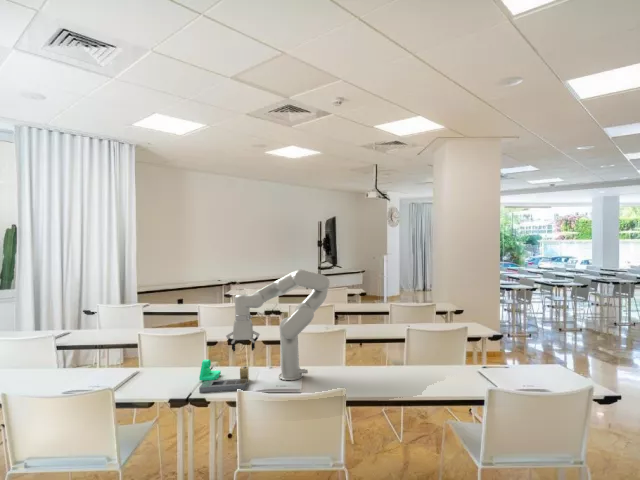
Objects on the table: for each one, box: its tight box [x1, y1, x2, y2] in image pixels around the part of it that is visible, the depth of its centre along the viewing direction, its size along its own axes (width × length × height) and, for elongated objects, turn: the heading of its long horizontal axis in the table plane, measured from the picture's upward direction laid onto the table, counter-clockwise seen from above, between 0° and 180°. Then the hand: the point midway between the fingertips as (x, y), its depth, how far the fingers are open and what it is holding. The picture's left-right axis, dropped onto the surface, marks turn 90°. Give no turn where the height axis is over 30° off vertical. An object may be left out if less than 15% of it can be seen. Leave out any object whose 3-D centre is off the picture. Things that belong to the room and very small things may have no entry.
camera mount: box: [199, 359, 222, 381], centre depth 210 cm, size 12×8×10 cm, turn 175°
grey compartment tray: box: [198, 378, 249, 394], centre depth 194 cm, size 22×10×3 cm, turn 94°
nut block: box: [239, 365, 250, 382], centre depth 203 cm, size 4×4×7 cm
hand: (243, 350), depth 204 cm, fingers open, 9 cm apart
